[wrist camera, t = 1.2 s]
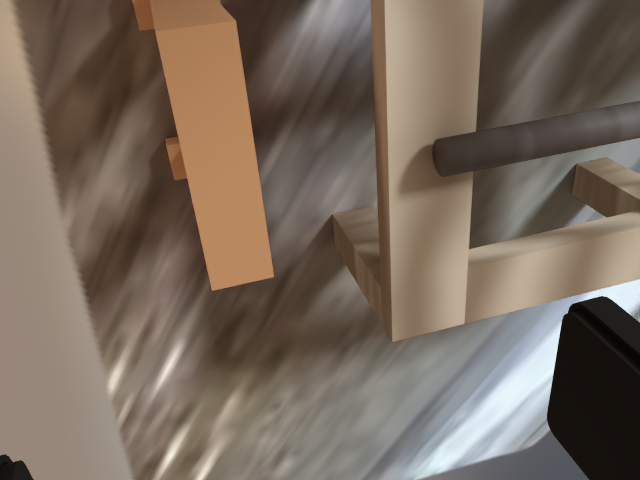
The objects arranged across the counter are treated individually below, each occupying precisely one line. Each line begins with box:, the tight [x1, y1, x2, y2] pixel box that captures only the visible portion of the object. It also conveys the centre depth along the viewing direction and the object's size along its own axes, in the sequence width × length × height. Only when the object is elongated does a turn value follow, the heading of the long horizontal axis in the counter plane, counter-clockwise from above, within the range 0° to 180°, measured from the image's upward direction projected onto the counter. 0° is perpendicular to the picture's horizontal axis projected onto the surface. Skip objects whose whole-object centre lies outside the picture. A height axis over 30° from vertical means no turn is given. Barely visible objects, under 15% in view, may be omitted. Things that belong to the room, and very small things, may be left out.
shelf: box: [333, 0, 640, 342], centre depth 30 cm, size 20×20×12 cm
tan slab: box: [132, 0, 274, 291], centre depth 25 cm, size 4×10×13 cm, turn 7°
